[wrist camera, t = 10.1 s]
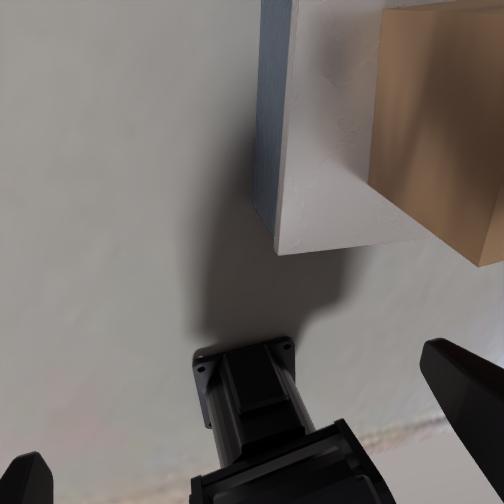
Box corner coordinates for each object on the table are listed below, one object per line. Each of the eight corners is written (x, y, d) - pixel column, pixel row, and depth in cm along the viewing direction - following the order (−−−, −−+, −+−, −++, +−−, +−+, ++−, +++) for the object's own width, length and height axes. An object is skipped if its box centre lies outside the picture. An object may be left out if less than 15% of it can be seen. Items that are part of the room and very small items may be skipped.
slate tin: (450, 188, 24) (519, 227, 20) (246, 205, 21) (277, 255, 17) (535, -83, 17) (663, -108, 13) (257, -117, 14) (313, -163, 10)
